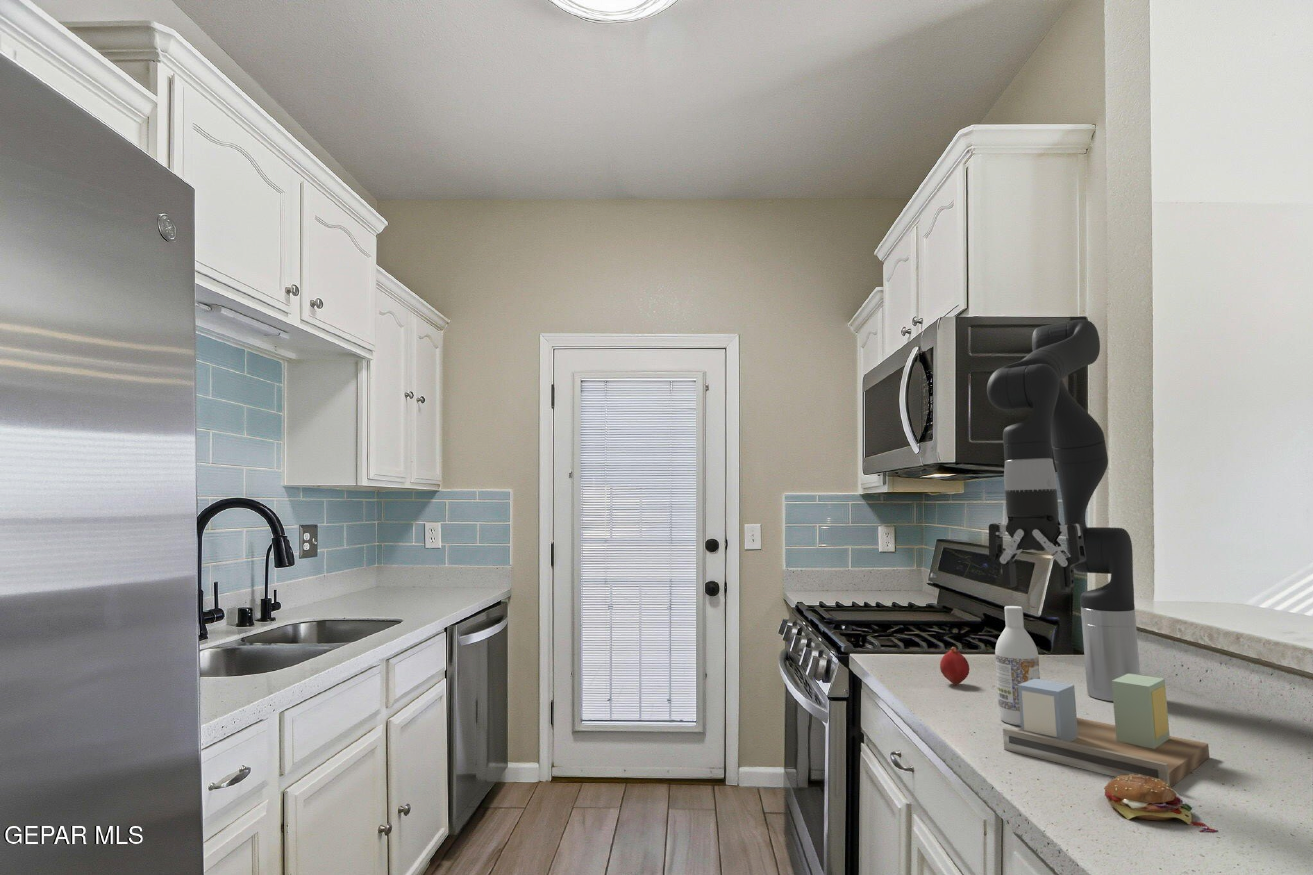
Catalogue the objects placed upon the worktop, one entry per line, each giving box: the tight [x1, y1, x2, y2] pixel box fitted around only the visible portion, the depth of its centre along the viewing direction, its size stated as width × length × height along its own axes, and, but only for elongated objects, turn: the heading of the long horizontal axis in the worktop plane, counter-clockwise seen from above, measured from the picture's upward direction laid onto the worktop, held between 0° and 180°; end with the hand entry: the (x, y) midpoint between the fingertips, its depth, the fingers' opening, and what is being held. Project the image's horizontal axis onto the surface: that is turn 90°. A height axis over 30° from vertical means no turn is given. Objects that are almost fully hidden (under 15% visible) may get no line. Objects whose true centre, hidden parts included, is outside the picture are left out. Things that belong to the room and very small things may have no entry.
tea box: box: [1112, 673, 1171, 749], centre depth 112 cm, size 5×7×9 cm
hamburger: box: [1103, 774, 1219, 834], centre depth 90 cm, size 14×14×6 cm
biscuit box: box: [1018, 678, 1078, 742], centre depth 114 cm, size 6×6×8 cm
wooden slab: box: [1002, 717, 1210, 788], centre depth 112 cm, size 19×22×3 cm
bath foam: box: [994, 605, 1041, 727], centre depth 130 cm, size 7×7×20 cm
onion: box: [939, 646, 970, 686], centre depth 155 cm, size 6×6×8 cm
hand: (1038, 588), depth 116 cm, fingers open, 8 cm apart
